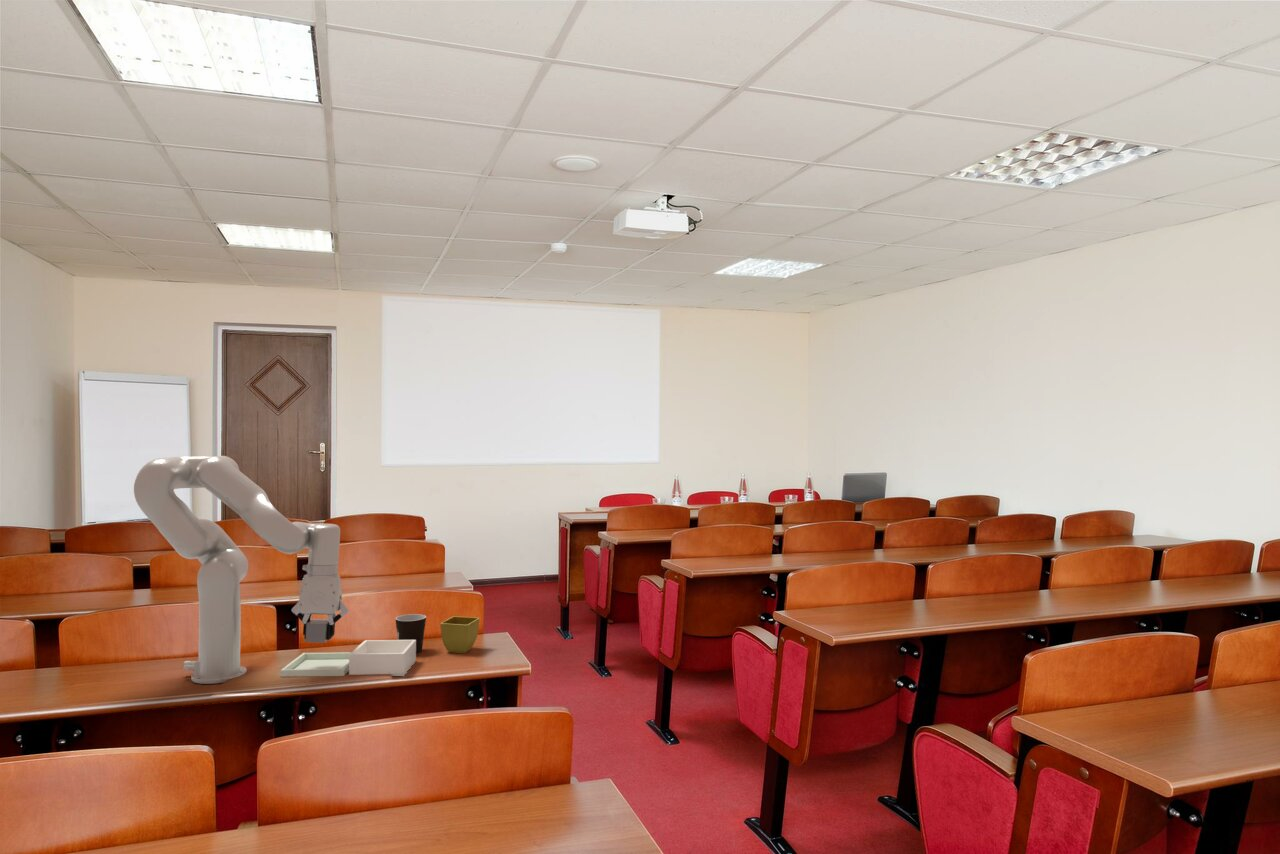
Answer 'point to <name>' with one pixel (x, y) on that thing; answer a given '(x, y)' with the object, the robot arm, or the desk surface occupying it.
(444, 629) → the flower pot
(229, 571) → the robot arm
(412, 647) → the bin
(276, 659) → the desk surface
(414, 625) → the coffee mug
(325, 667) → the tray
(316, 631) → the stone cube
